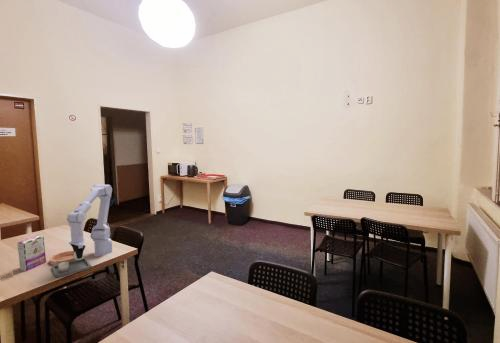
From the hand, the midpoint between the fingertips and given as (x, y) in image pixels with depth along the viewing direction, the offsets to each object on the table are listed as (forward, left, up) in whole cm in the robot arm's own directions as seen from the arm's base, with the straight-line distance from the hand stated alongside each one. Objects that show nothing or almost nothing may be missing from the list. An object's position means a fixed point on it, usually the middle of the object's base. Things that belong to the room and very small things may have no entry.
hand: (78, 256), depth 147 cm
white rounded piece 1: (+7, 0, -6) cm, 9 cm away
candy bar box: (+19, -18, -7) cm, 27 cm away
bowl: (+4, -15, -6) cm, 17 cm away
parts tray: (+4, 0, -6) cm, 7 cm away
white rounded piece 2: (0, 0, -1) cm, 1 cm away
